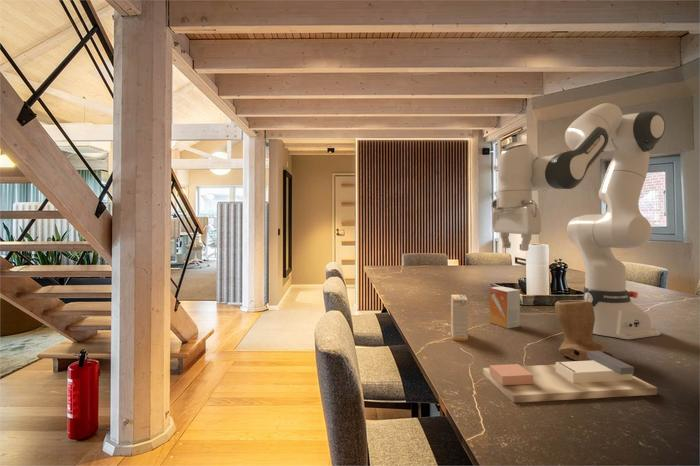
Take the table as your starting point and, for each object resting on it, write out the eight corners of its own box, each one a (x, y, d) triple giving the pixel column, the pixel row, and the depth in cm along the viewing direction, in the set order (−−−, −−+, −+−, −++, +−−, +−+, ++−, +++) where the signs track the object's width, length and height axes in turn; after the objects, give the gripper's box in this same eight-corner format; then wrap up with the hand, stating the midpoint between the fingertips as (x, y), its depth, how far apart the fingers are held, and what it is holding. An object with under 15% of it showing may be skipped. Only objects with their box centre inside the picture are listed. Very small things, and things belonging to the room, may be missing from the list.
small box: (489, 322, 132) (489, 287, 132) (502, 320, 135) (502, 286, 134) (506, 328, 125) (506, 291, 124) (520, 326, 127) (520, 289, 127)
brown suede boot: (560, 342, 111) (560, 293, 110) (607, 351, 103) (608, 298, 102) (546, 356, 100) (546, 302, 99) (598, 367, 92) (599, 309, 91)
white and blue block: (604, 365, 89) (604, 350, 89) (640, 383, 79) (640, 366, 79) (550, 368, 88) (550, 352, 88) (579, 387, 78) (579, 369, 78)
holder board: (605, 367, 91) (605, 362, 91) (656, 394, 77) (656, 387, 77) (483, 374, 89) (483, 368, 89) (513, 402, 75) (513, 395, 75)
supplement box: (468, 341, 113) (468, 299, 112) (452, 340, 114) (452, 299, 113) (465, 333, 121) (465, 294, 120) (450, 332, 122) (450, 293, 121)
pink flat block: (518, 372, 85) (518, 364, 85) (533, 383, 79) (533, 374, 79) (489, 373, 85) (489, 365, 85) (502, 385, 79) (502, 376, 79)
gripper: (547, 199, 94) (547, 252, 95) (507, 203, 115) (507, 246, 115) (524, 199, 94) (524, 252, 94) (488, 203, 114) (488, 246, 115)
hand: (514, 249), depth 105 cm, fingers open, 8 cm apart
